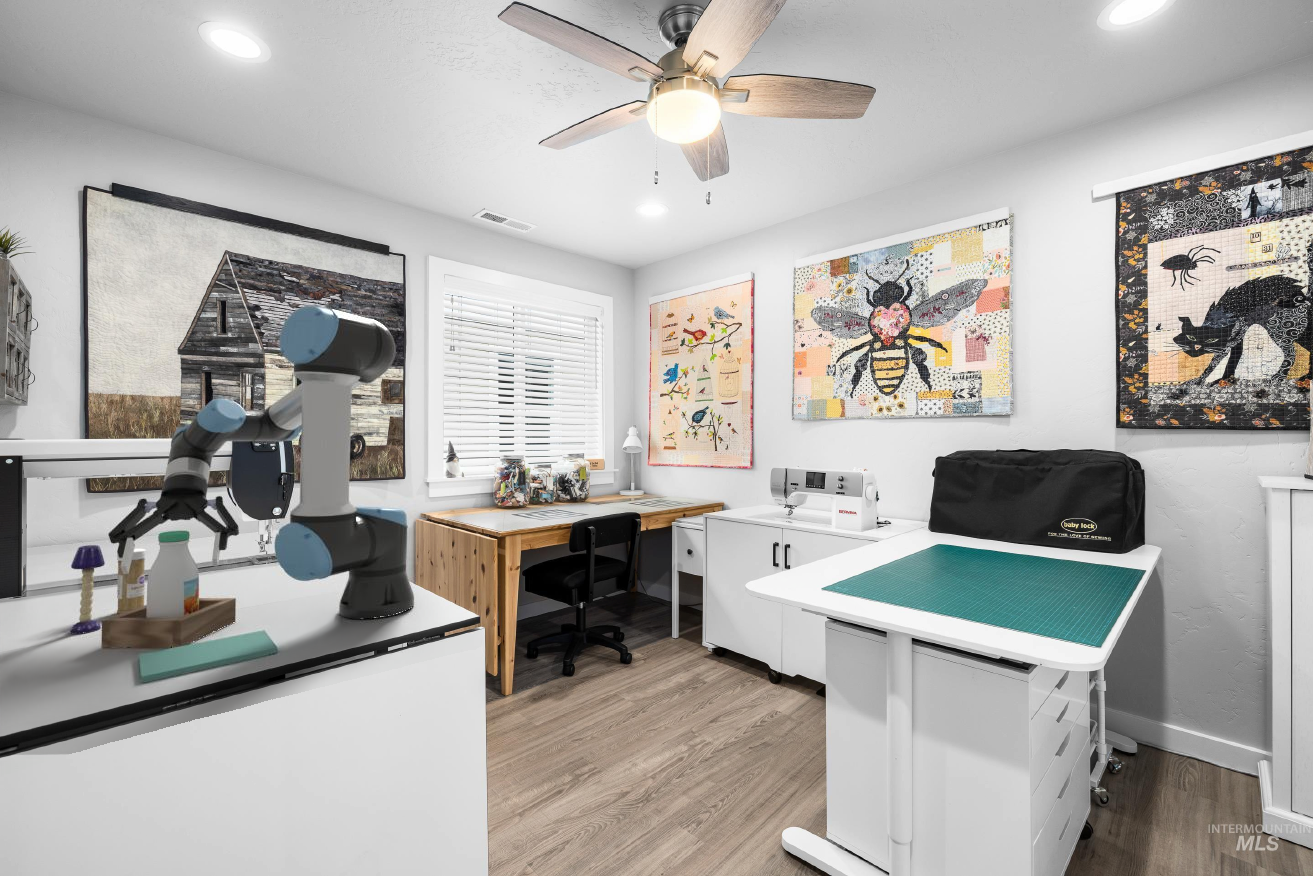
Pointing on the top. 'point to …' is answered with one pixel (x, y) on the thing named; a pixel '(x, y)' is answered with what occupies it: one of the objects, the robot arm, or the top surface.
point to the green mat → (204, 655)
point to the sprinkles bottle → (131, 583)
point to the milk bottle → (173, 578)
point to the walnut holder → (167, 626)
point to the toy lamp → (87, 585)
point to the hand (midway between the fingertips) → (171, 566)
